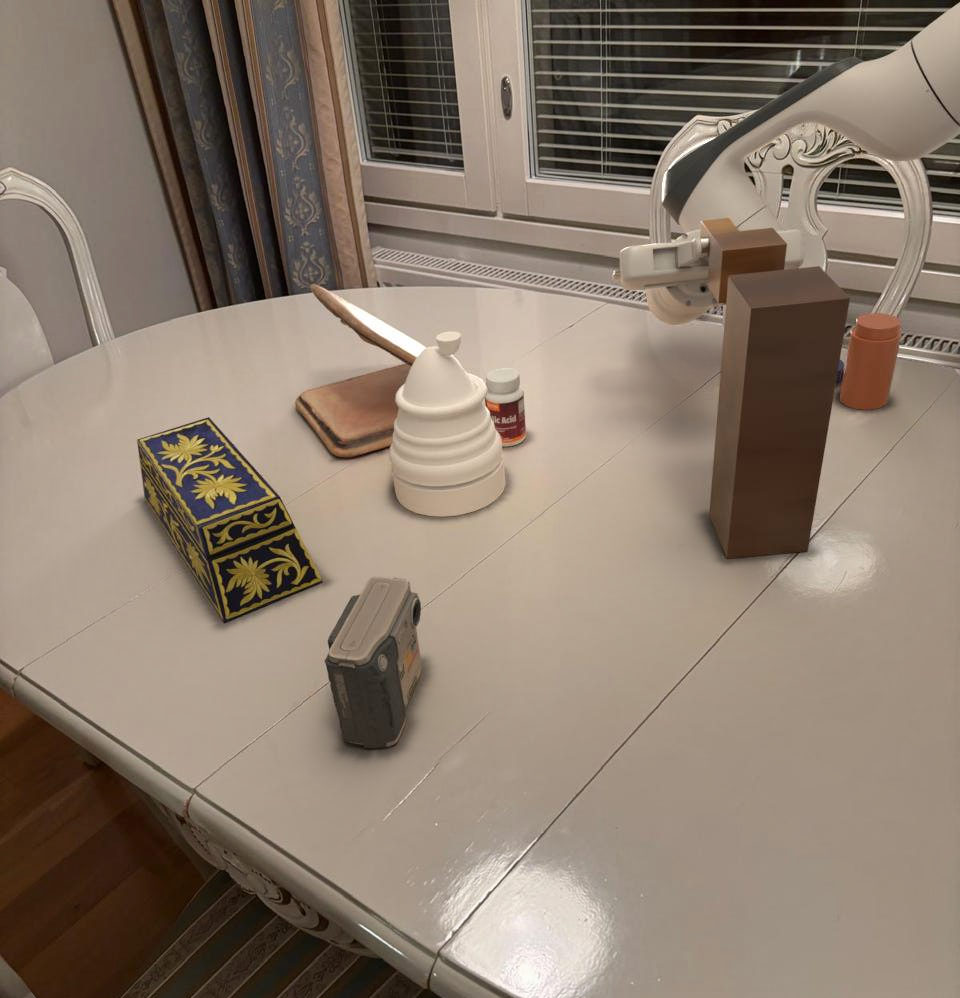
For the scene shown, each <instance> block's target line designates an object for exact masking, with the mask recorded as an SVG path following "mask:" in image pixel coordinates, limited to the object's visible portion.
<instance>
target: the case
mask: <svg viewBox="0 0 960 998" xmlns="http://www.w3.org/2000/svg"><path fill="white" fill-rule="evenodd" d="M309 289H310V291H311V292H312V294H313V296H314V297H315V298H316V300H318V302H319V303H320V304H322V305H323V307H325V309H326V310H328V311H329V312H330V314H332V315H333V316H334V317H336V318H338V319H339V320H340V321H339V322H340V324H342V325H344V326H347V327H348V328H349V329H351V330H353V332H355V333H356V334H357V336H358V337H359V338H360V339H361V340H362V341H363V342H364V343H367V344H369V345H372V346H375V347H378V348H379V349H381V350H383V351H385V352H387V353H388V354H389V355H391V356H393V357H394V358H395V359H397V360H400V361H401V362H402V363H401V364H397V365H395V366H392V367H388V368H383V369H380V370H375V371H372V372H369V373H366V374H361V375H357V376H353V377H350V378H346V379H343V380H339V381H335V382H331V383H328V384H325V385H320V386H317V387H314V388H310V389H306V390H304V391H303V392H301V394H300V395H298V396H297V397H296V399H295V402H294V403H295V407H296V409H297V410H298V411H299V413H300V414H301V415H302V416H303V417H304V419H305V420H306V421H307V422H308V424H309V425H310V426H311V427H312V429H313V430H314V432H315V433H316V434H317V435H318V437H319V439H321V441H322V442H323V444H324V445H325V447H326V448H327V450H328V451H329V452H330V453H331V454H332V455H334V456H335V457H339V458H352V457H357V456H360V455H364V454H367V453H370V452H371V453H372V452H373V451H377V450H381V449H384V448H387V447H390V446H391V444H392V443H393V432H394V421H395V419H396V418H397V415H398V410H399V407H398V406H397V404H396V402H395V398H396V393H397V391H398V390H399V388H400V387H401V386H403V385H404V384H405V382H406V379H407V376H408V374H409V371H410V369H411V367H412V365H413V363H414V361H415V360H416V358H417V357H418V355H419V354H420V353H421V352H422V351H423V350H425V349H426V348H427V347H426V346H425V345H423V344H422V343H420V342H419V341H417V340H415V339H413V338H412V337H410V336H408V335H406V334H404V333H403V332H401V331H399V330H398V329H396V328H394V327H393V326H391V325H390V324H387V323H385V322H384V321H382V320H380V319H379V318H377V317H375V316H373V315H372V314H370V313H368V312H367V311H365V310H363V309H361V308H360V307H358V306H356V305H354V304H353V303H351V302H350V301H348V300H346V299H344V298H342V297H341V296H339V295H337V294H336V293H333V292H331V290H328V289H326V288H324V287H323V286H321V285H319V284H316V283H312V284H310V286H309Z"/></svg>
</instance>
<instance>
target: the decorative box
mask: <svg viewBox="0 0 960 998" xmlns="http://www.w3.org/2000/svg"><path fill="white" fill-rule="evenodd" d="M136 444H137V451H138V459H139V466H140V474H141V482H142V489H143V496H144V500H145V502H146V503H147V505H148V506H149V508H150V510H151V511H152V512H153V514H154V516H155V517H156V519H157V520H158V522H159V524H160V525H161V527H162V528H163V529H164V531H165V533H166V534H167V536H168V537H169V539H170V541H171V542H172V544H173V545H174V546H175V548H176V550H177V552H178V554H179V555H180V556H181V558H182V559H183V561H184V562H185V564H186V565H187V567H188V569H189V570H190V572H191V573H192V575H193V576H194V578H195V580H196V581H197V583H198V585H199V586H200V587H201V589H202V590H203V592H204V594H205V595H206V597H207V598H208V600H209V601H210V603H211V604H212V606H213V607H214V609H215V611H216V612H217V614H218V616H219V617H220V619H221V620H222V622H223V623H225V624H226V623H227V622H229V621H232V620H234V619H237V618H239V617H242V616H244V615H246V614H249V613H251V612H254V611H256V610H259V609H261V608H264V607H266V606H268V605H271V604H273V603H276V602H278V601H280V600H282V599H285V598H288V597H291V595H292V596H293V595H295V594H297V593H300V592H302V591H304V590H306V589H309V588H312V587H314V586H316V585H319V584H321V583H323V582H324V580H323V578H322V577H321V575H320V573H319V570H318V569H317V567H316V565H315V562H314V561H313V559H312V556H311V555H310V553H309V551H308V549H307V547H306V545H305V543H304V541H303V539H302V537H301V535H300V533H299V531H298V529H297V527H296V525H295V523H294V522H293V520H292V517H291V516H290V514H289V511H288V509H287V507H286V505H285V504H284V502H283V499H282V498H281V496H280V495H279V494H278V493H277V491H276V490H275V489H274V488H273V487H272V486H271V484H269V482H268V481H267V480H266V479H265V478H264V477H263V476H262V475H261V474H260V473H259V472H258V470H257V469H256V468H255V466H253V464H252V463H251V462H250V461H249V460H248V459H247V458H246V457H245V455H243V454H242V453H241V452H240V451H241V450H240V449H238V448H237V447H236V445H235V444H234V443H233V441H231V440H230V439H229V437H227V436H226V434H225V433H224V432H223V431H222V430H221V428H219V427H218V425H217V424H216V423H215V422H214V421H213V420H212V419H211V417H210V416H209V417H205V418H202V419H198V420H195V421H192V422H189V423H186V424H182V425H179V426H176V427H173V428H169V429H167V430H163V431H159V432H156V433H154V434H151V435H147V436H144V437H140V438H138V439H136Z"/></svg>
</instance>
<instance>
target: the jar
mask: <svg viewBox="0 0 960 998" xmlns="http://www.w3.org/2000/svg"><path fill="white" fill-rule="evenodd" d="M901 327H902V326H901V320H900V318H899V317H898V316H895V315H892V314H889V313H883V312H872V313H866V314H862V315H859V316H858V317H856V321H855V326H854V327H852V329H851V330H850V333H849V340H848V346H847V351H846V357H845V363H844V370H843V371H844V372H843V378H842V379H841V387H840V391H839V398H838V399H839V402H840V403H841V404H842V405H844V406H846V407H848V408H850V409H855V410H862V411H863V410H864V411H866V410H867V411H868V410H876V409H880V408H884V407H885V406H886V405H887V404H888V403H889V397H890V392H891V388H892V383H893V379H894V372H895V368H896V363H897V360H898V359H897V358H898V355H899V354H898V353H899V349H900V344H901V339H902V334H903V332H902V330H901Z"/></svg>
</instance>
